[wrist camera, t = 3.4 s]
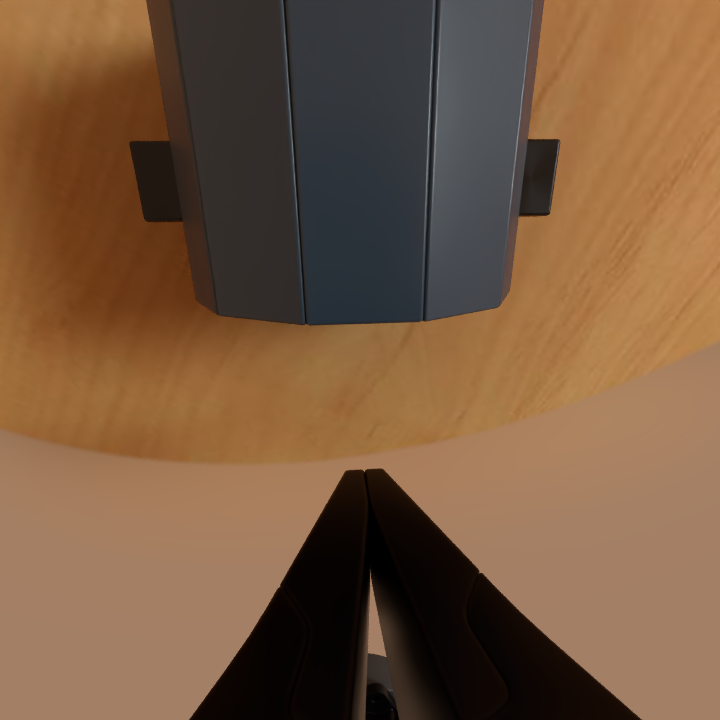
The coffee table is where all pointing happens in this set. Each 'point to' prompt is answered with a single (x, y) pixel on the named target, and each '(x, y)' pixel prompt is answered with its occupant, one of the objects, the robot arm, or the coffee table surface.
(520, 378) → the coffee table surface
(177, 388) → the coffee table surface
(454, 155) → the pot
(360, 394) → the coffee table surface
